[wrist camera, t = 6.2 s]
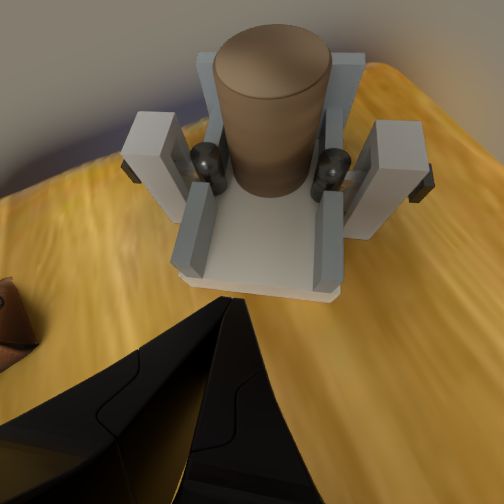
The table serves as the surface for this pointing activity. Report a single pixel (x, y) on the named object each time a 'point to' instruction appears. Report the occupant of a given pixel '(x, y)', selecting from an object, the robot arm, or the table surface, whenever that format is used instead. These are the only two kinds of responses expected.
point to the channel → (275, 209)
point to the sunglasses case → (13, 327)
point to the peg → (272, 104)
